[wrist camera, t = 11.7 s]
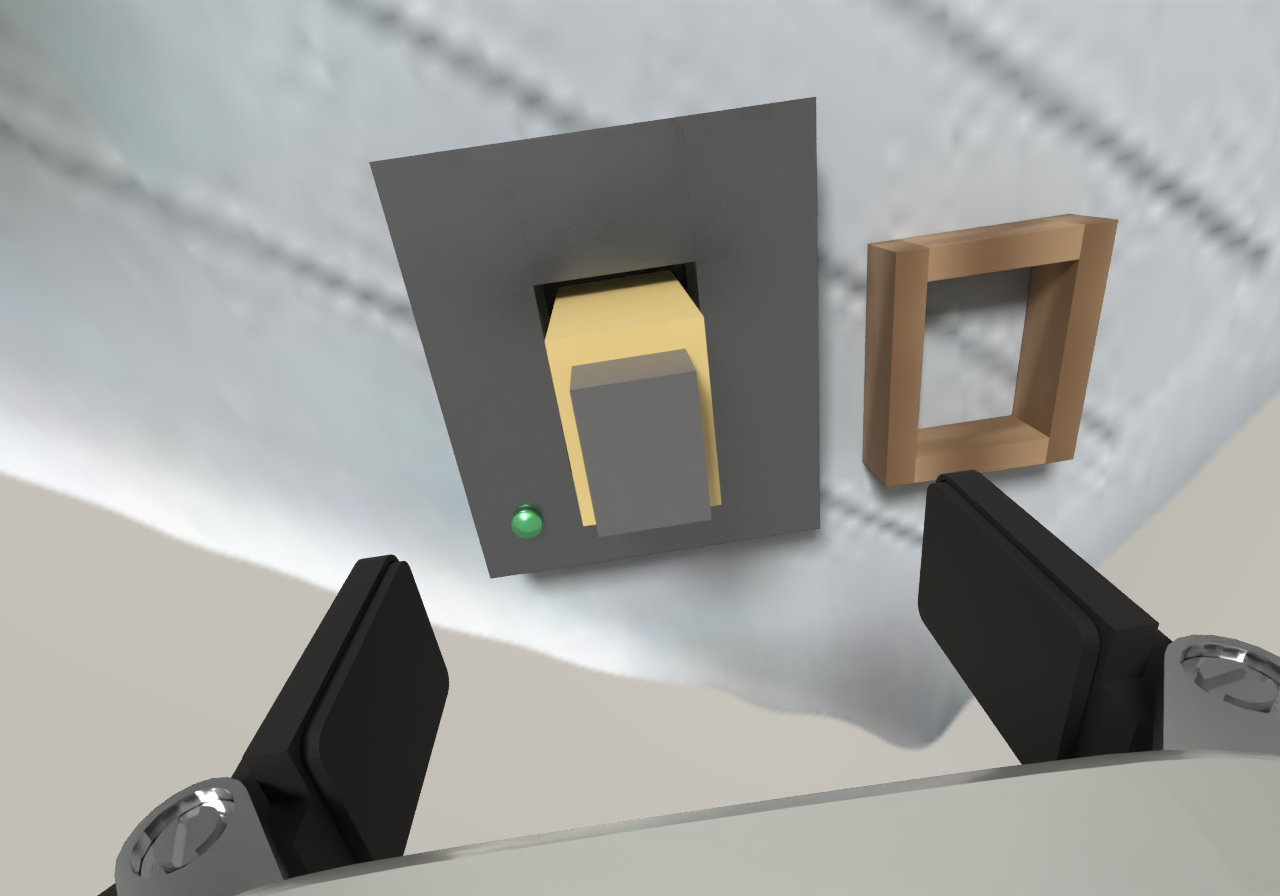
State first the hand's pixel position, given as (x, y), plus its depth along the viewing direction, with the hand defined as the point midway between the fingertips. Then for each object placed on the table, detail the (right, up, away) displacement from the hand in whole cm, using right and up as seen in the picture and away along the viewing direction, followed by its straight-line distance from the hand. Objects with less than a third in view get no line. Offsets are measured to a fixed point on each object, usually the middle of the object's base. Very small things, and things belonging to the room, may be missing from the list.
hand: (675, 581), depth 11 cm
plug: (-1, +6, +14) cm, 16 cm away
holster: (+13, +7, +15) cm, 21 cm away
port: (-1, +6, +14) cm, 16 cm away
